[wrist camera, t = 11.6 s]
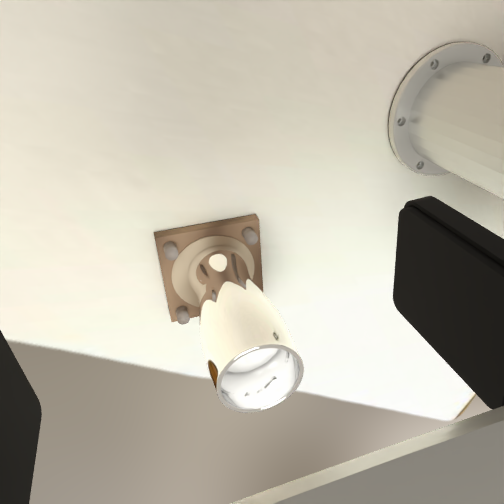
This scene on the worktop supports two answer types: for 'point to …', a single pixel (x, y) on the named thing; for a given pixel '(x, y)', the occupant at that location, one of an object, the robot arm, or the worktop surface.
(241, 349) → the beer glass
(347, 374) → the worktop surface
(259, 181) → the worktop surface
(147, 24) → the worktop surface
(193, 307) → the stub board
